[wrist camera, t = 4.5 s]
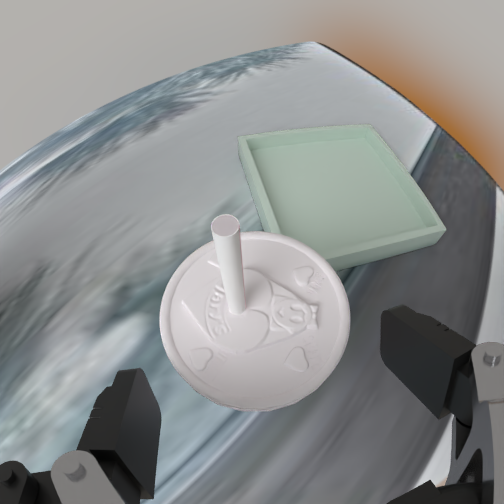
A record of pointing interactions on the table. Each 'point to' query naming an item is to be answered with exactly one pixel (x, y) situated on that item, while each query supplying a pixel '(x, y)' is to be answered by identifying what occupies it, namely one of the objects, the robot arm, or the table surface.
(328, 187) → the tray
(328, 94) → the table surface
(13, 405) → the table surface
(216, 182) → the table surface
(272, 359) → the smoothie
